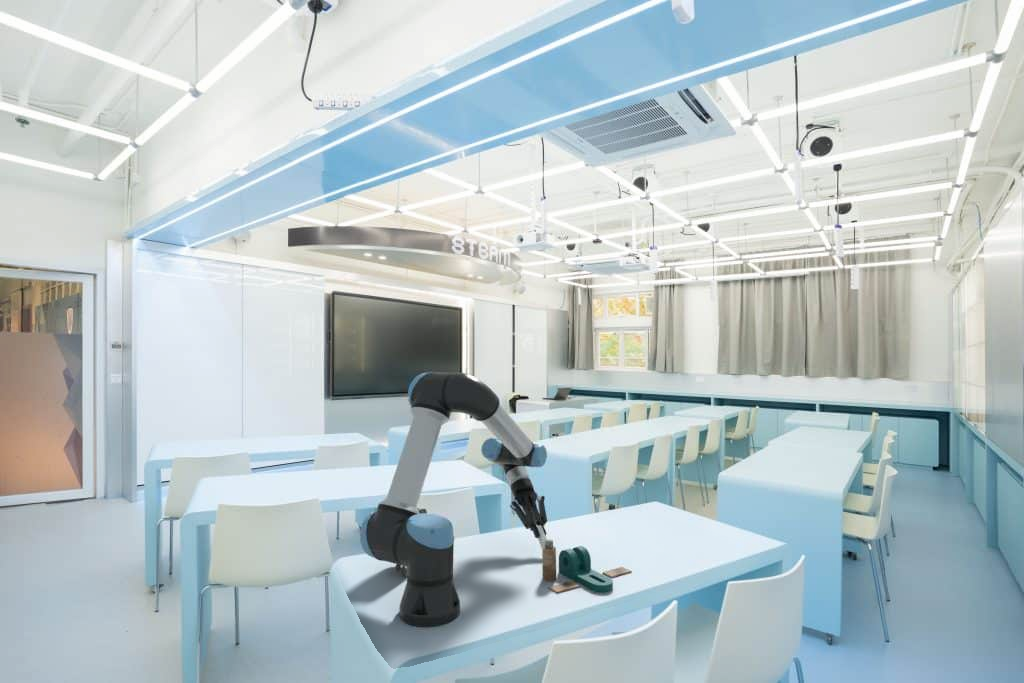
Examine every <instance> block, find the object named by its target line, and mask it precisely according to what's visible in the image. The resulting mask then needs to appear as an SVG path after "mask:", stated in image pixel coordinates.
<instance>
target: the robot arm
mask: <svg viewBox="0 0 1024 683" xmlns="http://www.w3.org/2000/svg"><path fill="white" fill-rule="evenodd" d="M407 397H409V398H408V399H407V401H408V404H409V406H410V413H411V415H412V420H411V423H410V425H409V426H410V427H409V430H408V433H407V435H406V439H405V441H404V445H403V448H402V451H401V453H400V457H399V460H398V463H397V465H396V468H395V472H394V475H393V478H392V481H391V484H390V487H389V488H388V492H387V496H386V498H385V499H383V500H382V501H380V502H379V503H378V505H377V508H376V511H373V512H370V513H369V514H368V516H366V517H365V518H364V520H363V521H362V523H361V527H360V532H359V541H360V545H361V546H362V547H361V548H362V551H364V553H365V554H366V555H367V556H369V557H371V558H373V559H376V560H377V561H380V562H381V561H382V562H388V563H390V564H391V563H392V564H394V565H396V564H399V565H401V566H402V565H403V566H405V568H406V571H407V576H406V584H405V587H404V591H403V593H402V597H401V600H400V603H399V615H398V616H399V619H400V620H401V621H402V622H404V623H405V624H408V625H410V626H411V625H412V626H416V627H426V628H427V627H436V626H441V625H444V624H447V623H450V622H452V621H454V620H455V619H456V618H457V617H458V616H459V615H460V613H461V600H460V598H459V594H458V591H457V587H456V584H455V581H454V553H455V552H454V544H455V536H454V527H453V524H452V522H451V521H450V519H448V518H447V517H445V516H443V515H440V514H435V513H423V514H420V513H419V511H418V509H417V508H418V503H419V500H420V497H421V494H422V491H423V487H424V484H425V480H426V478H427V475H428V471H429V468H430V464H431V462H432V459H433V454H434V451H435V448H436V445H437V442H438V439H439V435H440V431H441V429H442V426H443V425H445V424H447V423H448V422H449V420H450V417H451V415H452V414H451V413H460V414H461V413H462V414H466V415H468V416H471V417H472V418H473V419H474V420H475V421H477V422H481V423H482V424H483V425H484V426H485V427H486V428H487V429H488V430H489V432H491V433H492V434H493V435H494V436H495V437H489V438H486V440H484V441H483V443H482V445H481V449H480V450H481V454H482V457H483V458H485V459H487V460H488V461H489V462H492V463H493V464H495V465H498V466H500V467H502V469H503V472H504V475H505V477H506V479H507V482H508V484H509V487H510V491H511V494H512V495H513V497H514V499H513V500H512V502H511V504H510V505H509V506H510V507H509V508H511V509H512V510H513V511H514V512H515V514H516V516H518V518H519V520H520V521H521V523H522V525H523V526H524V528H525V529H527V530H529V529H530V532H532V533H533V535H534V538H535V539H537V540H538V541H539V545H540V548H541V549H542V547H543V546H545V540H548V539H547V536H546V535H547V531H546V529H545V525H546V523H547V522H548V518H547V512H546V506H545V499H546V498H545V497H546V496H544V495H541V496H540V495H538V493H537V492H536V491H535V489H534V485H533V483H532V480H531V479H530V476H529V473H528V471H527V469H526V468H527V467H529V468H530V467H531V468H541V467H543V466H544V465H545V464H546V461H547V457H548V451H547V448H546V447H545V445H542V444H539V443H534V442H533V441H532V440H531V439H530V438H529V436H528V435H527V434H526V433H525V432H524V431H523V430H522V428H521V427H520V426H519V425H518V424H517V423H516V421H515V420H514V419H513V418H512V417H511V415H509V413H508V412H507V411H506V410H505V408H504V407H503V406H502V405H501V401H500V398H499V396H498V395H497V394H496V393H495V392H494V391H493V390H492V389H491V388H490V387H489V386H488V385H486V384H485V383H484V382H483V381H482V380H480V379H479V378H477V377H475V376H473V375H471V374H469V373H466V372H437V371H428V372H423V373H420V374H418V375H417V376H416V377H414V379H413V380H412V381H411V383H410V384H409V387H408V392H407ZM537 504H538V507H537Z"/></svg>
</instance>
